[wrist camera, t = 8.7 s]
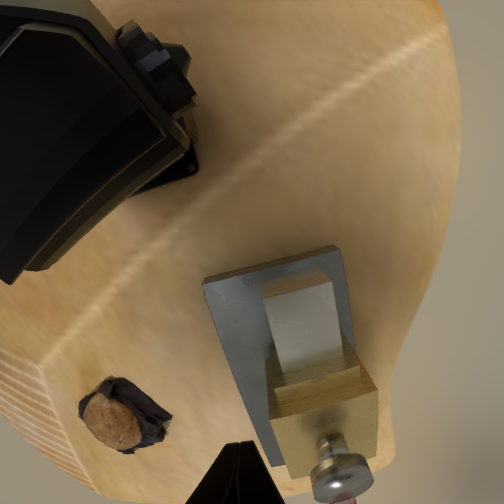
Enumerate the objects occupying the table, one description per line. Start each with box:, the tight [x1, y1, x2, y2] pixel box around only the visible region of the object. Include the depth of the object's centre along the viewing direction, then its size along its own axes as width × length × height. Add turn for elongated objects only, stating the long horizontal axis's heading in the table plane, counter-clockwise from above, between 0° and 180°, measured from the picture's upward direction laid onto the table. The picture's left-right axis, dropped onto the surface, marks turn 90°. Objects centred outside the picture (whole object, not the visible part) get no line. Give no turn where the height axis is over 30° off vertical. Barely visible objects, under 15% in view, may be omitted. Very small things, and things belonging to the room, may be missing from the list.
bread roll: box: [78, 376, 172, 454], centre depth 21 cm, size 11×8×4 cm
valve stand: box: [201, 245, 378, 479], centre depth 17 cm, size 9×20×9 cm, turn 15°
